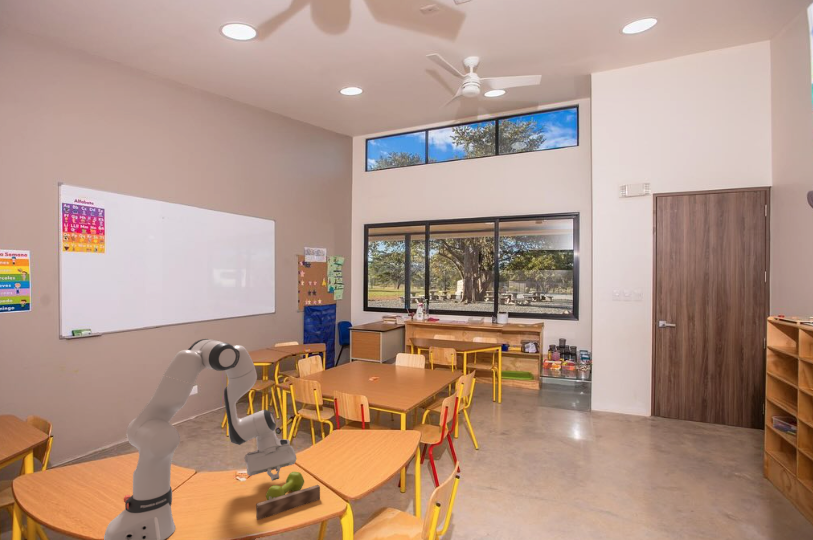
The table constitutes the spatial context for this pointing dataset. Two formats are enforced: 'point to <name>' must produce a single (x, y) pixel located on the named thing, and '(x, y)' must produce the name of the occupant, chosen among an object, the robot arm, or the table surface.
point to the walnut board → (287, 502)
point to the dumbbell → (286, 486)
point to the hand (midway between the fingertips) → (275, 479)
